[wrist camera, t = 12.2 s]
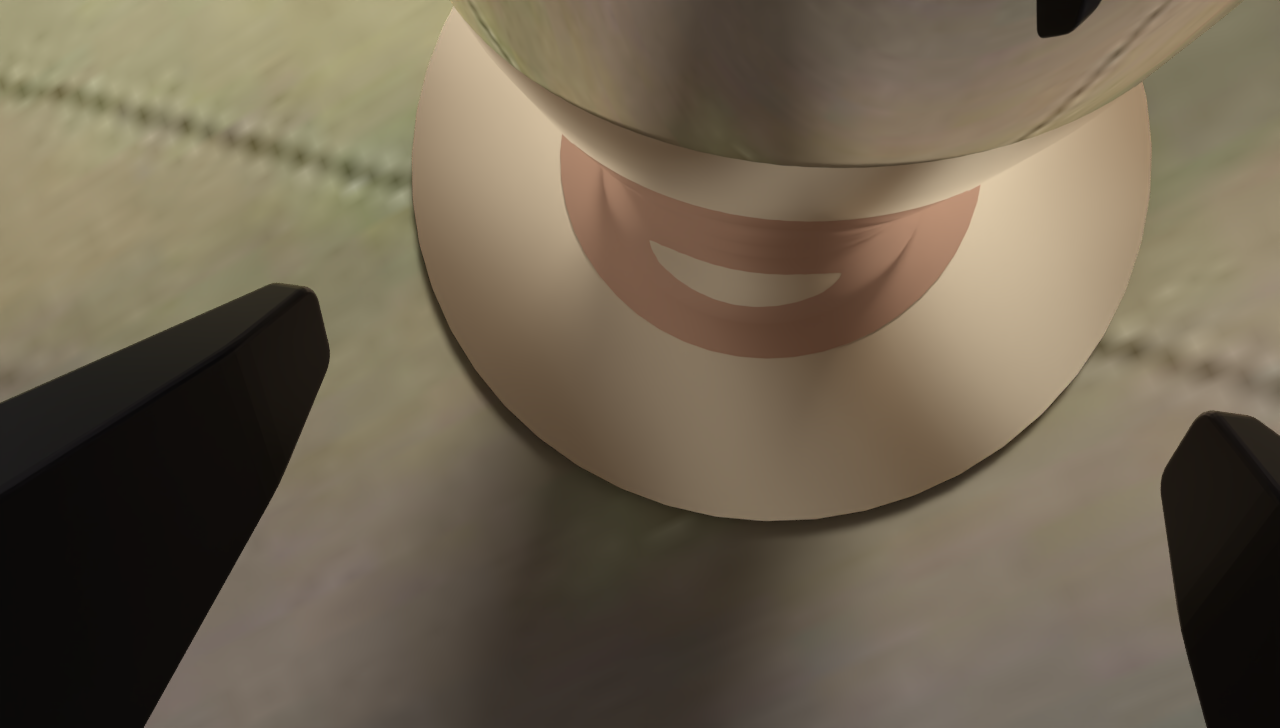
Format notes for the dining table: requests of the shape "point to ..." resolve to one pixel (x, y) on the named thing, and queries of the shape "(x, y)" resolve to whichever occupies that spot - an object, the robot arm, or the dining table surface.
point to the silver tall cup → (812, 120)
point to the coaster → (765, 353)
